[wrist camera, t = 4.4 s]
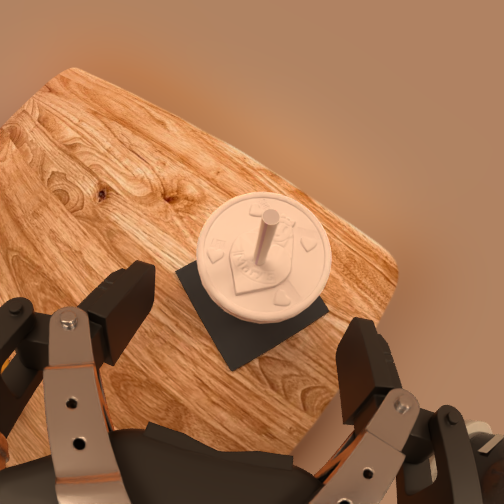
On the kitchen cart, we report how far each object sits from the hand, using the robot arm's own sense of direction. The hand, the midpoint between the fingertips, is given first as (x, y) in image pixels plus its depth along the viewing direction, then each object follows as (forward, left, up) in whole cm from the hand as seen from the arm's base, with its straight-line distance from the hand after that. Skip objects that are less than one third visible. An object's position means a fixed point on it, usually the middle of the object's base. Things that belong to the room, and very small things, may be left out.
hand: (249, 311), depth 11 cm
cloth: (+2, -2, -11) cm, 11 cm away
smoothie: (+2, -2, -11) cm, 11 cm away
